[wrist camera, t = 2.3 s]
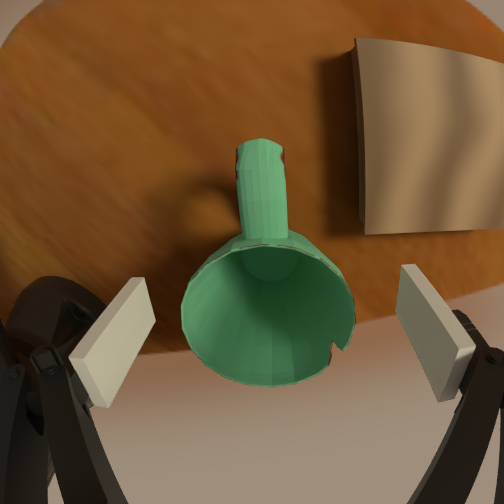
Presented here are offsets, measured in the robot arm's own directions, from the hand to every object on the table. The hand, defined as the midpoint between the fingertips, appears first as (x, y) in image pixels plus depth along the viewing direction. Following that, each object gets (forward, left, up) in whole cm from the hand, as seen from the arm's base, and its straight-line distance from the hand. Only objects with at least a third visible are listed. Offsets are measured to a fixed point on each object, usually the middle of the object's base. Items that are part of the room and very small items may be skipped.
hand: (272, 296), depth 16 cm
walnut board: (+14, +7, -11) cm, 19 cm away
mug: (0, 0, -11) cm, 11 cm away
